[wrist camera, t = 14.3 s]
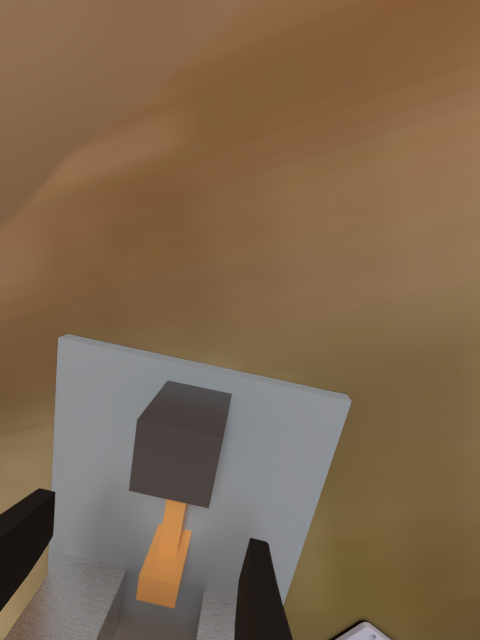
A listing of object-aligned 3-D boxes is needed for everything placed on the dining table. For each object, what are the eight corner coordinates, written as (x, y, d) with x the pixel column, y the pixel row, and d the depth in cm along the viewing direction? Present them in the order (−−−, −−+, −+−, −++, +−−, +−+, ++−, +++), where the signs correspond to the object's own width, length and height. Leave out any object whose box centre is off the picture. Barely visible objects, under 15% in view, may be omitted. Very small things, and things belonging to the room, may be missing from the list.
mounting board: (228, 756, 24) (227, 772, 23) (48, 711, 24) (41, 726, 23) (346, 394, 15) (351, 401, 15) (67, 334, 16) (58, 337, 15)
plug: (198, 555, 18) (182, 635, 14) (144, 543, 18) (113, 619, 14) (231, 393, 15) (223, 438, 11) (167, 380, 15) (136, 419, 11)
